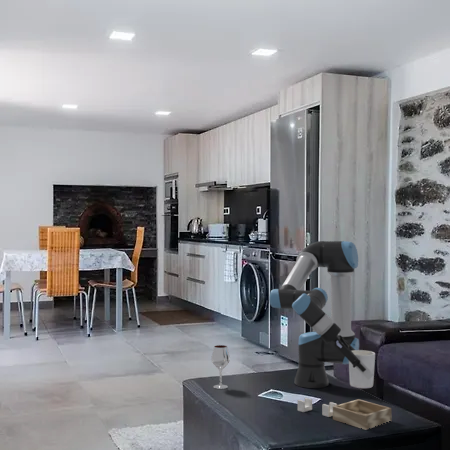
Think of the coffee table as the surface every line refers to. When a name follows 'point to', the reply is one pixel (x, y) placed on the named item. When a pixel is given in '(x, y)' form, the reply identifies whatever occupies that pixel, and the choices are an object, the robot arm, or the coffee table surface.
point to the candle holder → (355, 375)
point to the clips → (307, 405)
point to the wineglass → (220, 361)
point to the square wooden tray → (361, 414)
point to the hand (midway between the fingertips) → (370, 373)
